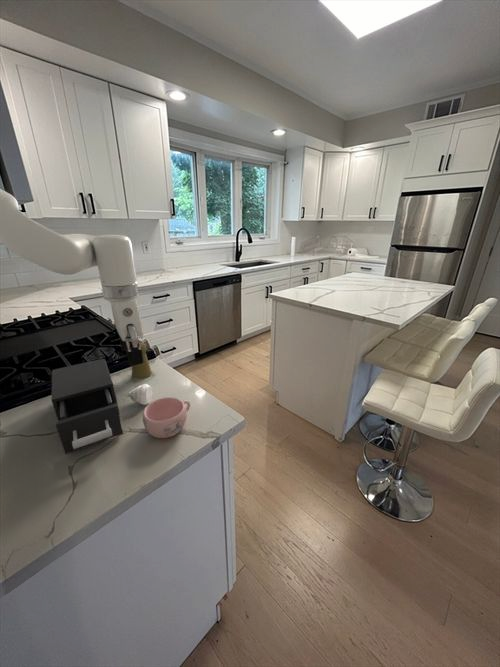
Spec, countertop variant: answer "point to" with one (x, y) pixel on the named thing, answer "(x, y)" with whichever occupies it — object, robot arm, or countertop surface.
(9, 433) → the countertop surface
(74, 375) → the drawer cabinet
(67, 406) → the dark grey drawer
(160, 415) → the mug
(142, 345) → the cork
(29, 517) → the countertop surface
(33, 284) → the countertop surface
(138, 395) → the garlic bulb
